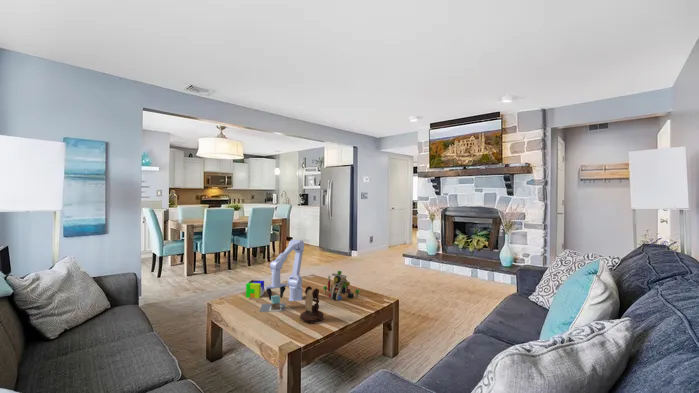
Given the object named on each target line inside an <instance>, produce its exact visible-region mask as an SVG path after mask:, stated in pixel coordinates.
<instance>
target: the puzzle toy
mask: <svg viewBox="0 0 699 393" xmlns="http://www.w3.org/2000/svg"><path fill="white" fill-rule="evenodd" d="M264 294H265V281H264V280H255V279H253V280H250V281H249V282H248V283H246V285H245V298H249V297H253V298H252V299H260V298H261V297H262V296H263V295H264Z"/></svg>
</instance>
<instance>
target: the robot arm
mask: <svg viewBox="0 0 699 393" xmlns="http://www.w3.org/2000/svg"><path fill="white" fill-rule="evenodd" d="M304 249H305V241H304V240H302V239H301V240H300V239H292V238H291V239H290V241H289V242H288V245H287V247H286V248H285V250H284V251H283V252H281V253H279V255H278V256H277V257H276V258H275V260H272V261H271V262H270V264H269V269H270V272H271V284H270V285H267V286H265V285H264V291H266V294H267V296H268V300H269V301H271V296H272V291H273V289H279V292H280V293H279V297H280V299H283V296H284V293H285V291H286V289H287V288H286V287H287V286H288V288H289V298H288V302H297V301H301V302H302V301H303V287H302V285H303V277H302V276H301V274H300V273H301V268H302V267H301V266H302V260H303V255H304V254H303V252H304ZM293 251H294V252H295V254H294V260H293V267H292V272H291V274H290V275H289V276H288V279H287V282H286V283H285V282H284V283H281V270H282V268H283V266H284V263H285V262H286V261H287V259H288V256H289V254H291V252H293Z"/></svg>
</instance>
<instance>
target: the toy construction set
mask: <svg viewBox="0 0 699 393" xmlns="http://www.w3.org/2000/svg"><path fill="white" fill-rule="evenodd" d="M342 273H343V272H342V270H337V273H331V275H327V285H323V286H322V287H323V290H324V291H323V294H326V293H327V291H329V292H328V298H329V299H332V300H333V301H342V300H343V299H342V298H343V296H342V295H341V294H347V298H348V299H353V298H354V297H355V296H356V297H357V296H358V297H359V293H360V289H358V288H357V289H355V291H354V292H355V293H356V295H355V294H354V293H353V292H352V290H351V289H350V288H349V286H350V285H351V282H350V281H348V280H347V275H343V274H342ZM331 276H333V283H331ZM336 291H337V292H336ZM352 297H353V298H352Z"/></svg>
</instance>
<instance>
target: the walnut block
mask: <svg viewBox="0 0 699 393" xmlns="http://www.w3.org/2000/svg"><path fill="white" fill-rule="evenodd" d="M280 303H281V302H280ZM280 303H276V304H273V303H272V302H271V304H272V305H271V310H279V308H280Z"/></svg>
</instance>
